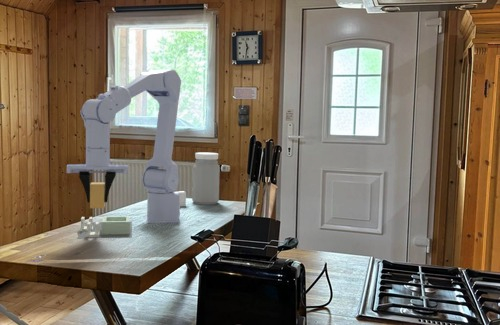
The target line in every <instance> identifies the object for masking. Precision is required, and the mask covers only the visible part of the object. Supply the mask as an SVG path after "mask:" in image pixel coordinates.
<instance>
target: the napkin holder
mask: <svg viewBox="0 0 500 325" xmlns="http://www.w3.org/2000/svg"><path fill="white" fill-rule="evenodd" d="M175 192H179V195H180V207H186V205H187V192H186V191H184V190H180V191H175Z"/></svg>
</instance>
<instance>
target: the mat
mask: <svg viewBox="0 0 500 325" xmlns="http://www.w3.org/2000/svg"><path fill="white" fill-rule="evenodd" d="M88 222H89V221H88ZM88 222H87V221H85V226H87V223H88ZM96 222H97V221H95V222H94V221H93V230H92V231H91V232H95V224H96ZM98 222H99V232H100V234H99V237H86V234H87V231H80V230H79V233H78V236H77V238H76V240H77V239H80V240H81V239H82V240H83V239H123V238H124V239H125V238H127V239H128V238H131V239H132V238H133V232H132V231H133V230H132V229H133V227H132V226H133V225H132V224H133V222H132V221H130V234H104V235H101V230H102V221H98Z"/></svg>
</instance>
